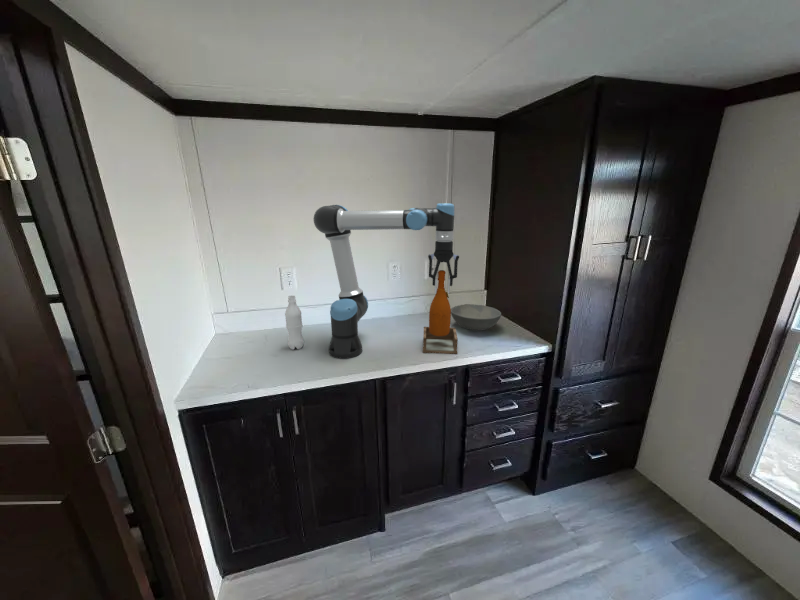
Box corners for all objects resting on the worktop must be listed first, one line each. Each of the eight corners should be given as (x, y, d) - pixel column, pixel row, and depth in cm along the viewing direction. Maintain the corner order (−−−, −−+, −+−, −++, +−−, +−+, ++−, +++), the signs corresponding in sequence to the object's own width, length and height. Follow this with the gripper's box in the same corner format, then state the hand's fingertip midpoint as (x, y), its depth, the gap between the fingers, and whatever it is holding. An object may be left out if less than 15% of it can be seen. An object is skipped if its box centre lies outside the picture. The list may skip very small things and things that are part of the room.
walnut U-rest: (457, 354, 155) (458, 340, 153) (422, 352, 157) (423, 339, 154) (454, 339, 171) (455, 327, 168) (423, 338, 172) (423, 325, 170)
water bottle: (299, 342, 166) (295, 293, 159) (307, 347, 161) (302, 296, 154) (285, 347, 161) (280, 296, 154) (293, 352, 157) (288, 299, 149)
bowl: (440, 328, 185) (441, 310, 182) (465, 315, 204) (466, 299, 201) (485, 341, 168) (486, 322, 165) (507, 326, 188) (509, 309, 185)
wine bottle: (449, 338, 155) (452, 273, 146) (427, 336, 157) (429, 272, 148) (450, 330, 165) (453, 268, 155) (430, 328, 166) (432, 267, 157)
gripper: (423, 241, 145) (421, 294, 152) (466, 242, 144) (463, 295, 151) (423, 239, 152) (422, 289, 159) (464, 239, 151) (461, 290, 158)
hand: (442, 292), depth 155 cm, fingers closed on wine bottle, 5 cm apart
